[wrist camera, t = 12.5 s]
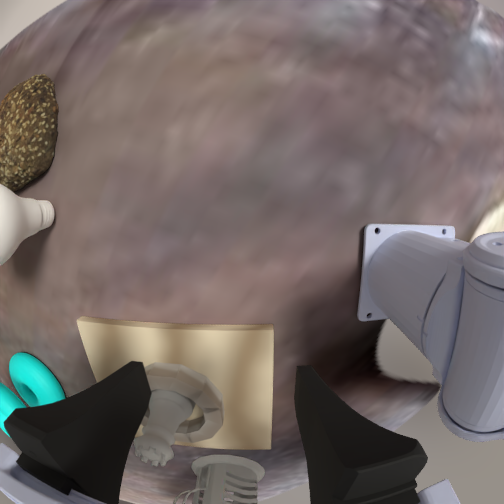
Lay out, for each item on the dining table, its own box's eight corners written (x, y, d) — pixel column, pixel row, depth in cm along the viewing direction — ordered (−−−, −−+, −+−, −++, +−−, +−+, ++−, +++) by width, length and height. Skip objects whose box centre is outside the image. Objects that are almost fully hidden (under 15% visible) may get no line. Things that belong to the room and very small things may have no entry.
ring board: (273, 324, 21) (275, 343, 18) (270, 442, 25) (271, 462, 22) (81, 316, 22) (65, 329, 19) (123, 428, 25) (114, 444, 22)
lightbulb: (63, 257, 20) (-24, 296, 10) (26, 227, 20) (-55, 250, 9) (81, 196, 19) (-19, 207, 8) (42, 170, 19) (-47, 172, 8)
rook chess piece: (150, 372, 21) (117, 433, 14) (198, 382, 22) (178, 451, 14) (152, 404, 22) (127, 462, 15) (196, 414, 23) (180, 477, 15)
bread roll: (60, 180, 19) (23, 181, 14) (-5, 199, 20) (-35, 204, 15) (71, 60, 16) (43, 43, 12) (2, 99, 17) (-24, 93, 12)
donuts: (-33, 382, 14) (-6, 391, 13) (8, 349, 24) (43, 347, 23) (10, 443, 16) (49, 461, 15) (42, 405, 26) (82, 411, 25)
